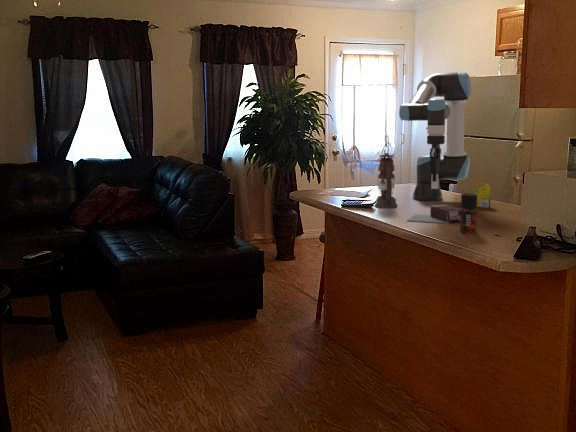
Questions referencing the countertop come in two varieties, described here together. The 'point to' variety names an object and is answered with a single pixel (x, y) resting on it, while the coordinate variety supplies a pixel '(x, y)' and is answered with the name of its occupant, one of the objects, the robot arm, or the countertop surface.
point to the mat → (426, 219)
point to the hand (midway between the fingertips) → (434, 188)
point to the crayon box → (482, 194)
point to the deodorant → (468, 213)
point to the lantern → (386, 182)
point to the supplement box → (446, 212)
